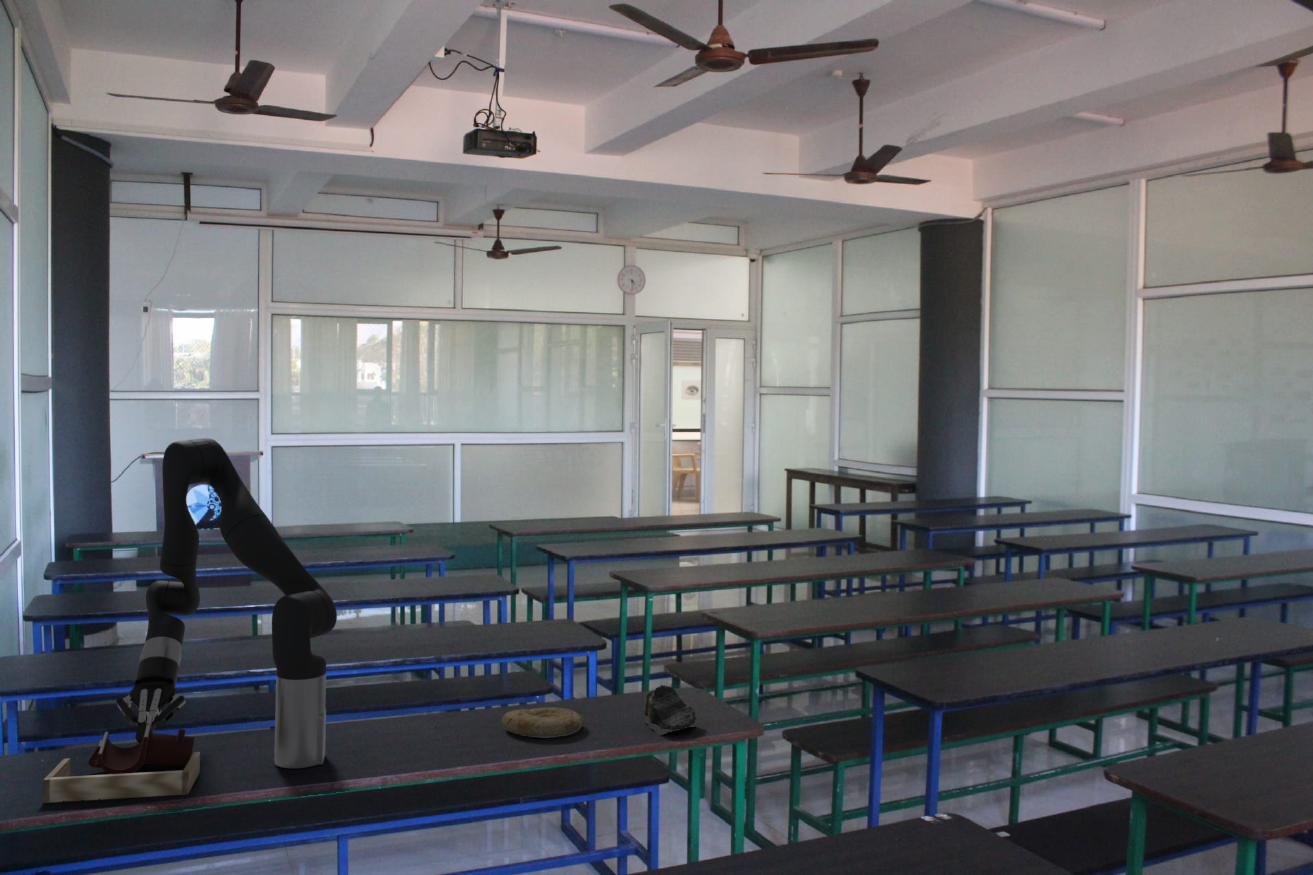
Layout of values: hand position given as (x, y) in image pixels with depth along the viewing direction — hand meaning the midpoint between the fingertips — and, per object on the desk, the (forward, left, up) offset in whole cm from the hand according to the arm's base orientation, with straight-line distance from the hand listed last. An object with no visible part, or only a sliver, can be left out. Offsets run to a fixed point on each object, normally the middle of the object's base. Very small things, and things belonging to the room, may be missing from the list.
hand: (143, 743), depth 193 cm
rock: (-107, -6, -4) cm, 107 cm away
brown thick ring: (-79, -9, -4) cm, 80 cm away
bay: (0, +12, -4) cm, 13 cm away
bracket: (-1, +4, -4) cm, 6 cm away
